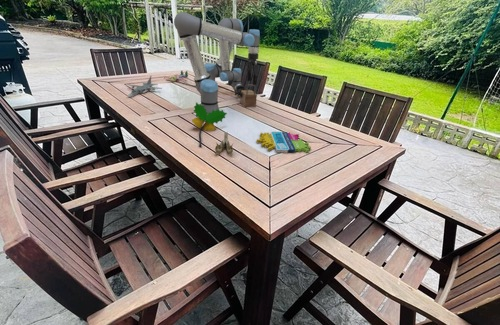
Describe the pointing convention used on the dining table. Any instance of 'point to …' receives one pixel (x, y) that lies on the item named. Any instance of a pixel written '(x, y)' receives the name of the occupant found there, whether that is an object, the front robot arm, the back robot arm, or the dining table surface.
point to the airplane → (142, 88)
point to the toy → (178, 77)
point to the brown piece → (249, 91)
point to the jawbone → (224, 145)
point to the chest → (248, 101)
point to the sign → (283, 142)
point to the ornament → (207, 117)
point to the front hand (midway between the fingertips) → (251, 82)
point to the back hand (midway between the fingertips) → (247, 95)
